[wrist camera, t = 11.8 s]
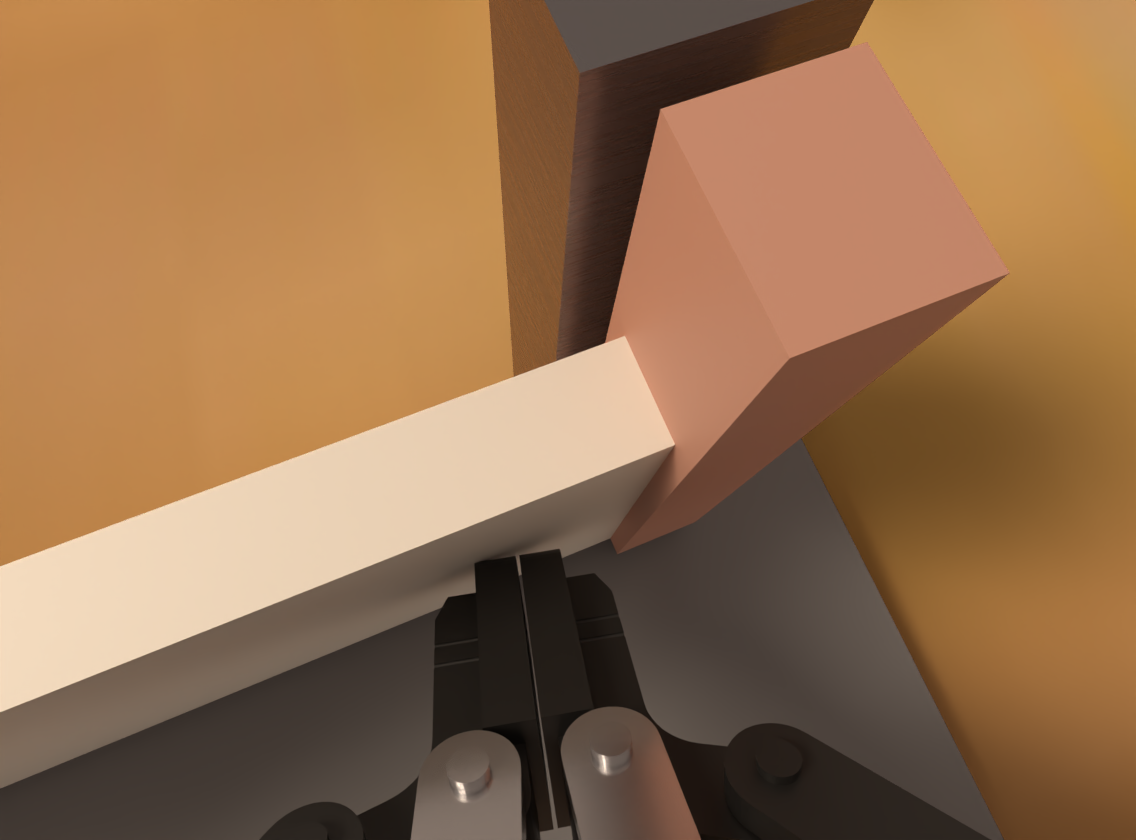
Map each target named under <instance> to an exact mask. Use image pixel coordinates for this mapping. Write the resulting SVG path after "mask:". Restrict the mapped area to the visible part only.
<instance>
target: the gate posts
mask: <svg viewBox="0 0 1136 840" xmlns="http://www.w3.org/2000/svg"><path fill="white" fill-rule="evenodd" d="M873 1H874V0H489V8H490V23H491V38H492V53H493V68H494V83H495V99H496V114H497V129H498V144H499V159H500V174H501V189H502V204H503V219H504V235H505V250H506V265H507V280H508V295H509V310H510V325H511V340H512V355H513V370H514V377H515V376H518V375H520V374H523V373H526V372H528V371H531V370H534V369H537V368H539V367H542V366H545V365H547V364H550V363H553V362H556V361H558V360H561V359H564V358H566V357H569V356H572V355H574V354H577V353H580V352H583V351H585V350H588V349H591V348H593V347H596V346H599V345H602V344H604V343H605V341H606V337H607V333H608V329H609V324H610V320H611V316H612V312H613V308H614V303H615V299H616V295H617V291H618V286H619V282H620V278H621V274H622V270H623V265H624V261H625V257H626V253H627V248H628V244H629V240H630V236H631V232H632V227H633V223H634V219H635V215H636V210H637V206H638V202H639V198H640V194H641V189H642V185H643V181H644V177H645V172H646V168H647V164H648V160H649V156H650V151H651V147H652V143H653V139H654V134H655V130H656V126H657V122H658V118H659V113H660V109H662V108H665V107H668V106H672V105H675V104H678V103H681V102H684V101H687V100H690V99H693V98H696V97H699V96H702V95H705V94H709V93H712V92H715V91H718V90H721V89H724V88H727V87H730V86H733V85H736V84H739V83H742V82H746V81H749V80H752V79H755V78H758V77H761V76H764V75H767V74H770V73H773V72H776V71H780V70H783V69H786V68H789V67H792V66H795V65H798V64H801V63H804V62H807V61H810V60H813V59H817V58H820V57H823V56H826V55H829V54H832V53H835V52H838V51H841V50H844V49H847V48H849V47H850V45H851V43H852V41H853V39H854V37H855V35H856V33H857V31H858V30H859V28H860V26H861V24H862V22H863V20H864V18H865V16H866V14H867V12H868V10H869V9H870V7H871V5H872V3H873Z"/></svg>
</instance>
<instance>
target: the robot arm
mask: <svg viewBox="0 0 1136 840" xmlns="http://www.w3.org/2000/svg"><path fill="white" fill-rule="evenodd" d="M519 558H520V566H521V573H522V581H523V588H524V596H525V603H526V611H527V619H528V626H529V634H530V641H531V649H532V656H533V664H534V671H535V679H536V686H537V694H538V701H539V709H540V716H541V723H542V729H543V736H544V742H545V749H546V755H547V761H548V768H549V774H550V781H551V787H552V794H553V800H554V806H555V813H556V819H557V826H558V828H562V827H568V826H571V830H572V837H573V840H991V839H989V838H987V837H985V836H984V835H982V834H980V833H978V832H977V831H975V830H973V829H972V828H970V827H968V826H966V825H965V824H963V823H961V822H959V821H958V820H956V819H954V818H952V817H951V816H949V815H947V814H946V813H944V812H942V811H940V810H939V809H937V808H935V807H933V806H932V805H930V804H928V803H927V802H925V801H923V800H921V799H920V798H918V797H916V796H914V795H913V794H911V793H909V792H908V791H906V790H904V789H902V788H901V787H899V786H897V785H895V784H894V783H892V782H890V781H888V780H887V779H885V778H883V777H882V776H880V775H878V774H876V773H875V772H873V771H871V770H869V769H868V768H866V767H864V766H863V765H861V764H859V763H857V762H856V761H854V760H852V759H850V758H849V757H847V756H845V755H843V754H842V753H840V752H838V751H837V750H835V749H833V748H831V747H830V746H828V745H826V744H824V743H823V742H821V741H819V740H818V739H816V738H814V737H812V736H811V735H809V734H807V733H805V732H803V731H801V730H799V729H797V728H795V727H792V726H789V725H784V724H779V723H763V724H758V725H753V726H751V727H748V728H746V729H744V730H742V731H741V732H739V733H738V734H737V735H736V736H735V737H734V738H733V739H732V740H731V742H730V743H729V744H728V746H720V745H711V744H702V743H695V742H689V741H686V740H683V739H680V738H678V737H676V736H673V735H671V734H670V733H668V732H666V731H665V730H663V729H662V728H661V727H660V726H659V725H658V724H656V722H655V721H654V720H653V719H652V718H651V716H650V714H649V713H648V711H647V709H646V706H645V704H644V700H643V697H642V693H641V690H640V686H639V683H638V679H637V676H636V672H635V669H634V666H633V662H632V659H631V655H630V652H629V648H628V645H627V641H626V638H625V636H624V631H623V627H622V624H621V620H620V618H619V614H618V610H617V606H616V603H615V599H614V596H613V593H612V590H611V589H610V588H609V587H608V586H607V585H606V584H605V583H604V582H603V581H602V580H601V579H600V578H599V577H598V576H597V575H596V574H595V573H591V574H585V575H579V576H573V577H567V578H566V575H565V570H564V565H563V560H562V556H561V551H560V549H554V550H548V551H542V552H535V553H529V554H523V555H519ZM474 566H475V588H476V593H470V594H464V595H458V596H451V597H448V598H447V599H446V601H445V603H444V605H443V607H442V608H441V610H440V612H439V614H438V616H437V617H436V619H435V640H434V645H435V649H434V668H435V669H434V685H433V731H432V748H431V753H430V754H429V755H428V756H427V758H426V760H425V761H424V763H423V765H422V767H421V770H420V773H419V776H418V777H417V778H416V779H415V780H414V782H413V783H411V784H410V785H409V786H408V787H407V788H406V789H405V790H403V791H402V792H401V793H399V794H398V795H396V796H395V797H393V798H391V799H389V800H387V801H385V802H383V803H381V804H379V805H377V806H375V807H373V808H371V809H369V810H367V811H365V812H363V813H361V814H359V815H356V814H355V813H354V812H353V811H352V810H351V809H349V808H348V807H347V806H344V805H342V804H339V803H335V802H317V803H312V804H308V805H305V806H302V807H300V808H297V809H295V810H293V811H292V812H290V813H288V814H286V815H285V816H284V817H282V818H281V819H280V820H278V821H277V822H276V823H275V824H274V825H273V826H272V827H271V828H270V829H269V830H268V831H267V832H266V833H265V834H264V835H263V836H262V837H261V838H260V839H259V840H541V838H540V832H543V831H548V830H553V829H554V828H553V820H552V812H551V805H550V797H549V789H548V782H547V774H546V766H545V759H544V751H543V743H542V736H541V728H540V720H539V713H538V705H537V697H536V690H535V682H534V674H533V667H532V659H531V652H530V645H529V638H528V631H527V624H526V618H525V611H524V605H523V598H522V592H521V585H520V579H519V573H518V566H517V560H516V556H512V557H505V558H499V559H493V560H487V561H481V562H477V563H475V565H474Z"/></svg>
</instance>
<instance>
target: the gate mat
mask: <svg viewBox="0 0 1136 840" xmlns="http://www.w3.org/2000/svg"><path fill="white" fill-rule="evenodd" d="M562 560H563V565H564V570H565V575H566V578H567V577H573V576H579V575H585V574H591V573H595V574H596V575H597V576H598V577H599V578H600V579H601V580H602V581H603V582H604V583H605V584H606V585H607V586H608V587H609V588H610V589H611V590H612V593H613V596H614V599H615V603H616V606H617V610H618V614H619V618H620V620H621V624H622V627H623V631H624V636H625V638H626V641H627V645H628V648H629V652H630V655H631V659H632V662H633V666H634V669H635V672H636V676H637V679H638V683H639V686H640V690H641V693H642V697H643V700H644V704H645V706H646V709H647V711H648V713H649V714H650V716H651V718H652V719H653V720H654V721H655V722H656V724H658V725H659V726H660V727H661V728H662V729H663V730H665V731H666V732H668V733H670V734H671V735H673V736H676V737H678V738H680V739H683V740H686V741H689V742H695V743H702V744H711V745H720V746H728V744H729V743H730V742H731V740H732V739H733V738H734V737H735V736H736V735H737V734H738V733H739V732H741V731H742V730H744V729H746V728H748V727H751V726H753V725H758V724H763V723H779V724H784V725H789V726H792V727H795V728H797V729H799V730H801V731H803V732H805V733H807V734H809V735H811V736H812V737H814V738H816V739H818V740H819V741H821V742H823V743H824V744H826V745H828V746H830V747H831V748H833V749H835V750H837V751H838V752H840V753H842V754H843V755H845V756H847V757H849V758H850V759H852V760H854V761H856V762H857V763H859V764H861V765H863V766H864V767H866V768H868V769H869V770H871V771H873V772H875V773H876V774H878V775H880V776H882V777H883V778H885V779H887V780H888V781H890V782H892V783H894V784H895V785H897V786H899V787H901V788H902V789H904V790H906V791H908V792H909V793H911V794H913V795H914V796H916V797H918V798H920V799H921V800H923V801H925V802H927V803H928V804H930V805H932V806H933V807H935V808H937V809H939V810H940V811H942V812H944V813H946V814H947V815H949V816H951V817H952V818H954V819H956V820H958V821H959V822H961V823H963V824H965V825H966V826H968V827H970V828H972V829H973V830H975V831H977V832H978V833H980V834H982V835H984V836H985V837H987V838H989V839H991V840H1004V839H1003V837H1002V835H1001V833H1000V831H999V829H998V827H997V825H996V823H995V821H994V819H993V817H992V815H991V813H990V811H989V809H988V807H987V805H986V803H985V801H984V799H983V797H982V795H981V793H980V791H979V789H978V787H977V785H976V783H975V781H974V779H973V777H972V775H971V773H970V771H969V769H968V767H967V765H966V763H965V761H964V759H963V758H962V756H961V754H960V752H959V750H958V748H957V746H956V744H955V742H954V740H953V738H952V736H951V734H950V732H949V730H948V728H947V726H946V724H945V722H944V720H943V718H942V716H941V714H940V712H939V710H938V708H937V706H936V704H935V702H934V700H933V698H932V696H931V694H930V692H929V690H928V688H927V686H926V684H925V682H924V680H923V678H922V676H921V674H920V672H919V670H918V668H917V667H916V665H915V663H914V661H913V659H912V657H911V655H910V653H909V651H908V649H907V647H906V645H905V643H904V641H903V639H902V637H901V635H900V633H899V631H898V629H897V627H896V625H895V623H894V621H893V619H892V617H891V615H890V613H889V611H888V609H887V607H886V605H885V603H884V601H883V599H882V597H881V595H880V593H879V591H878V589H877V587H876V585H875V583H874V581H873V579H872V578H871V576H870V574H869V572H868V570H867V568H866V566H865V564H864V562H863V560H862V558H861V556H860V554H859V552H858V550H857V548H856V546H855V544H854V542H853V540H852V538H851V536H850V534H849V532H848V530H847V528H846V526H845V524H844V522H843V520H842V518H841V516H840V514H839V512H838V510H837V508H836V506H835V504H834V502H833V500H832V498H831V496H830V494H829V492H828V490H827V488H826V487H825V485H824V483H823V481H822V479H821V477H820V475H819V473H818V471H817V469H816V467H815V465H814V463H813V461H812V459H811V457H810V455H809V453H808V451H807V449H806V447H805V445H804V443H803V441H802V439H799V440H798V441H797V442H796V443H794V444H793V445H792V446H791V447H789V448H788V449H787V450H786V451H784V452H783V453H782V454H781V455H779V456H778V457H777V458H775V459H774V460H773V461H772V462H770V463H769V464H768V465H767V466H765V467H764V468H763V469H762V470H760V471H759V472H758V473H757V474H755V475H754V476H753V477H751V478H750V479H749V480H748V481H746V482H745V483H744V484H743V485H741V486H740V487H739V488H738V489H736V490H735V491H734V492H733V493H731V494H730V495H729V496H727V497H726V498H725V499H724V500H722V501H721V502H720V503H719V504H717V505H716V506H715V507H714V508H712V509H711V510H710V511H709V512H707V513H706V514H705V515H703V516H702V517H701V518H700V519H698V520H697V521H696V522H694V523H692V524H689V525H687V526H684V527H682V528H680V529H677V530H675V531H672V532H670V533H668V534H665V535H663V536H660V537H658V538H655V539H653V540H651V541H648V542H646V543H643V544H641V545H639V546H636V547H634V548H631V549H629V550H626V551H624V552H622V553H619V554H617V553H616V550H615V548H614V546H613V543H612V541H611V539H607V540H605V541H602V542H600V543H598V544H595V545H593V546H590V547H588V548H585V549H583V550H580V551H578V552H576V553H573V554H571V555H568V556H566V557H563V558H562ZM519 579H520V585H521V592H522V598H523V605H524V611H525V618H526V624H527V631H528V638H529V645H530V652H531V659H532V667H533V674H534V682H535V690H536V697H537V705H538V713H539V720H540V728H541V736H542V743H543V751H544V759H545V766H546V774H547V782H548V789H549V797H550V805H551V812H552V820H553V828H554V829H553V830H548V831H543V832H540V838H541V840H573V837H572V830H571V826H568V827H562V828H558V826H557V819H556V813H555V806H554V800H553V794H552V787H551V781H550V774H549V768H548V761H547V755H546V749H545V742H544V736H543V729H542V723H541V716H540V709H539V701H538V694H537V686H536V679H535V671H534V664H533V656H532V649H531V641H530V634H529V626H528V619H527V611H526V603H525V596H524V588H523V581H522V575H520V576H519ZM440 610H441V608H439V609H437V610H434V611H432V612H429V613H427V614H425V615H422V616H420V617H417V618H415V619H412V620H410V621H407V622H405V623H403V624H400V625H398V626H395V627H393V628H390V629H388V630H386V631H383V632H381V633H378V634H376V635H373V636H371V637H369V638H366V639H364V640H361V641H359V642H356V643H354V644H351V645H349V646H347V647H344V648H342V649H339V650H337V651H334V652H332V653H330V654H327V655H325V656H322V657H320V658H317V659H315V660H312V661H310V662H308V663H305V664H303V665H300V666H298V667H295V668H293V669H291V670H288V671H286V672H283V673H281V674H278V675H276V676H273V677H271V678H269V679H266V680H264V681H261V682H259V683H256V684H254V685H252V686H249V687H247V688H244V689H242V690H239V691H237V692H234V693H232V694H230V695H227V696H225V697H222V698H220V699H217V700H215V701H213V702H210V703H208V704H205V705H203V706H200V707H198V708H196V709H193V710H191V711H188V712H186V713H183V714H181V715H178V716H176V717H174V718H171V719H169V720H166V721H164V722H161V723H159V724H157V725H154V726H152V727H149V728H147V729H144V730H142V731H139V732H137V733H135V734H132V735H130V736H127V737H125V738H122V739H120V740H118V741H115V742H113V743H110V744H108V745H105V746H103V747H100V748H98V749H96V750H93V751H91V752H88V753H86V754H83V755H81V756H79V757H76V758H74V759H71V760H69V761H66V762H64V763H61V764H59V765H57V766H54V767H52V768H49V769H47V770H44V771H42V772H40V773H37V774H35V775H32V776H30V777H27V778H25V779H23V780H20V781H18V782H15V783H13V784H10V785H8V786H5V787H3V788H1V789H0V840H259V839H260V838H261V837H262V836H263V835H264V834H265V833H266V832H267V831H268V830H269V829H270V828H271V827H272V826H273V825H274V824H275V823H276V822H277V821H278V820H280V819H281V818H282V817H284V816H285V815H286V814H288V813H290V812H292V811H293V810H295V809H297V808H300V807H302V806H305V805H308V804H312V803H317V802H335V803H339V804H342V805H344V806H347V807H348V808H349V809H351V810H352V811H353V812H354V813H355V814H356V815H359V814H361V813H363V812H365V811H367V810H369V809H371V808H373V807H375V806H377V805H379V804H381V803H383V802H385V801H387V800H389V799H391V798H393V797H395V796H396V795H398V794H399V793H401V792H402V791H403V790H405V789H406V788H407V787H408V786H409V785H410V784H411V783H413V782H414V780H415V779H416V778H417V777H418V776H419V773H420V770H421V767H422V765H423V763H424V761H425V760H426V758H427V756H428V755H429V754H430V753H431V748H432V731H433V685H434V669H435V668H434V649H435V645H434V640H435V619H436V617H437V616H438V614H439V612H440Z"/></svg>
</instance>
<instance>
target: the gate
mask: <svg viewBox="0 0 1136 840" xmlns="http://www.w3.org/2000/svg"><path fill="white" fill-rule="evenodd" d="M1009 273H1010V272H1009V271H1008V269H1007V268H1006V266H1005V264H1004V263H1003V261H1002V260H1001V258H1000V256H999V255H998V253H997V251H996V250H995V248H994V247H993V245H992V243H991V242H990V240H989V238H988V237H987V235H986V234H985V232H984V230H983V229H982V227H981V226H980V224H979V222H978V221H977V219H976V217H975V216H974V214H973V213H972V211H971V209H970V208H969V206H968V205H967V203H966V201H965V200H964V198H963V196H962V195H961V193H960V192H959V190H958V188H957V187H956V185H955V183H954V182H953V180H952V179H951V177H950V175H949V174H948V172H947V171H946V169H945V167H944V166H943V164H942V162H941V161H940V159H939V158H938V156H937V154H936V153H935V151H934V150H933V148H932V146H931V145H930V143H929V141H928V140H927V138H926V137H925V135H924V133H923V132H922V130H921V128H920V127H919V125H918V124H917V122H916V120H915V119H914V117H913V116H912V114H911V112H910V111H909V109H908V107H907V106H906V104H905V103H904V101H903V99H902V98H901V96H900V95H899V93H898V91H897V90H896V88H895V86H894V85H893V83H892V82H891V80H890V78H889V77H888V75H887V73H886V72H885V70H884V69H883V67H882V65H881V64H880V62H879V61H878V59H877V57H876V56H875V54H874V52H873V51H872V49H871V48H870V46H869V44H868V43H867V42H866V43H863V44H860V45H857V46H854V47H850V48H847V49H844V50H841V51H838V52H835V53H832V54H829V55H826V56H823V57H820V58H817V59H813V60H810V61H807V62H804V63H801V64H798V65H795V66H792V67H789V68H786V69H783V70H780V71H776V72H773V73H770V74H767V75H764V76H761V77H758V78H755V79H752V80H749V81H746V82H742V83H739V84H736V85H733V86H730V87H727V88H724V89H721V90H718V91H715V92H712V93H709V94H705V95H702V96H699V97H696V98H693V99H690V100H687V101H684V102H681V103H678V104H675V105H672V106H668V107H665V108H662V109H660V113H659V118H658V122H657V126H656V130H655V134H654V139H653V143H652V147H651V151H650V156H649V160H648V164H647V168H646V172H645V177H644V181H643V185H642V189H641V194H640V198H639V202H638V206H637V210H636V215H635V219H634V223H633V227H632V232H631V236H630V240H629V244H628V248H627V253H626V257H625V261H624V265H623V270H622V274H621V278H620V282H619V286H618V291H617V295H616V299H615V303H614V308H613V312H612V316H611V320H610V324H609V329H608V333H607V337H606V341H605V343H604V344H602V345H599V346H596V347H593V348H591V349H588V350H585V351H583V352H580V353H577V354H574V355H572V356H569V357H566V358H564V359H561V360H558V361H556V362H553V363H550V364H547V365H545V366H542V367H539V368H537V369H534V370H531V371H528V372H526V373H523V374H520V375H518V376H515V377H512V378H509V379H507V380H504V381H501V382H499V383H496V384H493V385H491V386H488V387H485V388H482V389H480V390H477V391H474V392H472V393H469V394H466V395H463V396H461V397H458V398H455V399H453V400H450V401H447V402H444V403H442V404H439V405H436V406H434V407H431V408H428V409H426V410H423V411H420V412H417V413H415V414H412V415H409V416H407V417H404V418H401V419H398V420H396V421H393V422H390V423H388V424H385V425H382V426H380V427H377V428H374V429H371V430H369V431H366V432H363V433H361V434H358V435H355V436H352V437H350V438H347V439H344V440H342V441H339V442H336V443H333V444H331V445H328V446H325V447H323V448H320V449H317V450H315V451H312V452H309V453H306V454H304V455H301V456H298V457H296V458H293V459H290V460H287V461H285V462H282V463H279V464H277V465H274V466H271V467H268V468H266V469H263V470H260V471H258V472H255V473H252V474H250V475H247V476H244V477H241V478H239V479H236V480H233V481H231V482H228V483H225V484H222V485H220V486H217V487H214V488H212V489H209V490H206V491H204V492H201V493H198V494H195V495H193V496H190V497H187V498H185V499H182V500H179V501H176V502H174V503H171V504H168V505H166V506H163V507H160V508H157V509H155V510H152V511H149V512H147V513H144V514H141V515H139V516H136V517H133V518H130V519H128V520H125V521H122V522H120V523H117V524H114V525H111V526H109V527H106V528H103V529H101V530H98V531H95V532H92V533H90V534H87V535H84V536H82V537H79V538H76V539H74V540H71V541H68V542H65V543H63V544H60V545H57V546H55V547H52V548H49V549H46V550H44V551H41V552H38V553H36V554H33V555H30V556H27V557H25V558H22V559H19V560H17V561H14V562H11V563H9V564H6V565H3V566H0V789H1V788H3V787H5V786H8V785H10V784H13V783H15V782H18V781H20V780H23V779H25V778H27V777H30V776H32V775H35V774H37V773H40V772H42V771H44V770H47V769H49V768H52V767H54V766H57V765H59V764H61V763H64V762H66V761H69V760H71V759H74V758H76V757H79V756H81V755H83V754H86V753H88V752H91V751H93V750H96V749H98V748H100V747H103V746H105V745H108V744H110V743H113V742H115V741H118V740H120V739H122V738H125V737H127V736H130V735H132V734H135V733H137V732H139V731H142V730H144V729H147V728H149V727H152V726H154V725H157V724H159V723H161V722H164V721H166V720H169V719H171V718H174V717H176V716H178V715H181V714H183V713H186V712H188V711H191V710H193V709H196V708H198V707H200V706H203V705H205V704H208V703H210V702H213V701H215V700H217V699H220V698H222V697H225V696H227V695H230V694H232V693H234V692H237V691H239V690H242V689H244V688H247V687H249V686H252V685H254V684H256V683H259V682H261V681H264V680H266V679H269V678H271V677H273V676H276V675H278V674H281V673H283V672H286V671H288V670H291V669H293V668H295V667H298V666H300V665H303V664H305V663H308V662H310V661H312V660H315V659H317V658H320V657H322V656H325V655H327V654H330V653H332V652H334V651H337V650H339V649H342V648H344V647H347V646H349V645H351V644H354V643H356V642H359V641H361V640H364V639H366V638H369V637H371V636H373V635H376V634H378V633H381V632H383V631H386V630H388V629H390V628H393V627H395V626H398V625H400V624H403V623H405V622H407V621H410V620H412V619H415V618H417V617H420V616H422V615H425V614H427V613H429V612H432V611H434V610H437V609H439V608H442V607H443V605H444V603H445V601H446V599H447V598H448V597H451V596H458V595H464V594H470V593H476V588H475V566H474V565H475V563H477V562H481V561H487V560H493V559H499V558H505V557H512V556H516V560H517V566H518V573H519V576H520V575H522V573H521V566H520V558H519V555H523V554H529V553H535V552H542V551H548V550H554V549H560V551H561V556H562V558H563V557H566V556H568V555H571V554H573V553H576V552H578V551H580V550H583V549H585V548H588V547H590V546H593V545H595V544H598V543H600V542H602V541H605V540H607V539H611V541H612V543H613V546H614V548H615V550H616V553H617V554H619V553H622V552H624V551H626V550H629V549H631V548H634V547H636V546H639V545H641V544H643V543H646V542H648V541H651V540H653V539H655V538H658V537H660V536H663V535H665V534H668V533H670V532H672V531H675V530H677V529H680V528H682V527H684V526H687V525H689V524H692V523H694V522H696V521H697V520H698V519H700V518H701V517H702V516H703V515H705V514H706V513H707V512H709V511H710V510H711V509H712V508H714V507H715V506H716V505H717V504H719V503H720V502H721V501H722V500H724V499H725V498H726V497H727V496H729V495H730V494H731V493H733V492H734V491H735V490H736V489H738V488H739V487H740V486H741V485H743V484H744V483H745V482H746V481H748V480H749V479H750V478H751V477H753V476H754V475H755V474H757V473H758V472H759V471H760V470H762V469H763V468H764V467H765V466H767V465H768V464H769V463H770V462H772V461H773V460H774V459H775V458H777V457H778V456H779V455H781V454H782V453H783V452H784V451H786V450H787V449H788V448H789V447H791V446H792V445H793V444H794V443H796V442H797V441H798V440H799V439H801V438H802V437H803V436H805V435H806V434H807V433H808V432H810V431H811V430H812V429H813V428H815V427H816V426H817V425H818V424H820V423H821V422H822V421H823V420H825V419H826V418H827V417H829V416H830V415H831V414H832V413H834V412H835V411H836V410H837V409H839V408H840V407H841V406H842V405H844V404H845V403H846V402H847V401H849V400H850V399H851V398H853V397H854V396H855V395H856V394H858V393H859V392H860V391H861V390H863V389H864V388H865V387H866V386H868V385H869V384H870V383H871V382H873V381H874V380H875V379H877V378H878V377H879V376H880V375H882V374H883V373H884V372H885V371H887V370H888V369H889V368H890V367H892V366H893V365H894V364H895V363H897V362H898V361H899V360H901V359H902V358H903V357H904V356H906V355H907V354H908V353H909V352H911V351H912V350H913V349H914V348H916V347H917V346H918V345H919V344H921V343H922V342H923V341H925V340H926V339H927V338H928V337H930V336H931V335H932V334H933V333H935V332H936V331H937V330H938V329H940V328H941V327H942V326H943V325H945V324H946V323H947V322H949V321H950V320H951V319H952V318H954V317H955V316H956V315H957V314H959V313H960V312H961V311H962V310H964V309H965V308H966V307H967V306H969V305H970V304H971V303H973V302H974V301H975V300H976V299H978V298H979V297H980V296H981V295H983V294H984V293H985V292H986V291H988V290H989V289H990V288H991V287H993V286H994V285H995V284H997V283H998V282H999V281H1000V280H1002V279H1003V278H1004V277H1005V276H1007V275H1008V274H1009Z"/></svg>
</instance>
